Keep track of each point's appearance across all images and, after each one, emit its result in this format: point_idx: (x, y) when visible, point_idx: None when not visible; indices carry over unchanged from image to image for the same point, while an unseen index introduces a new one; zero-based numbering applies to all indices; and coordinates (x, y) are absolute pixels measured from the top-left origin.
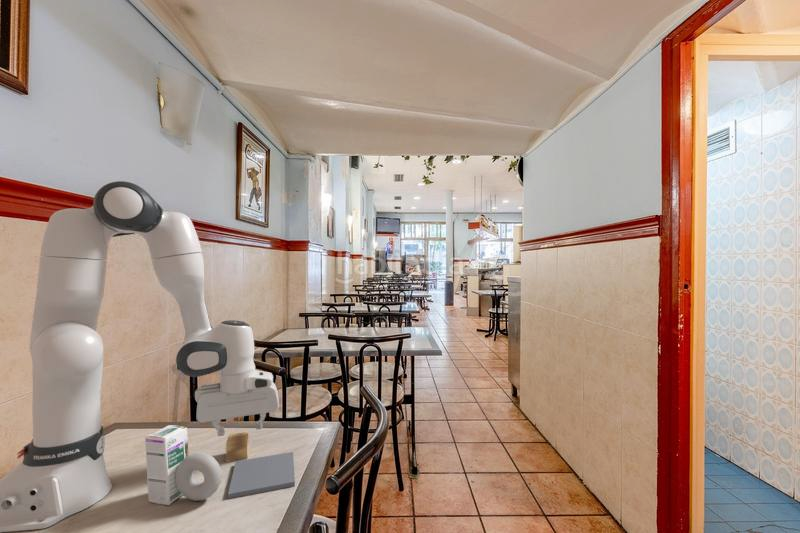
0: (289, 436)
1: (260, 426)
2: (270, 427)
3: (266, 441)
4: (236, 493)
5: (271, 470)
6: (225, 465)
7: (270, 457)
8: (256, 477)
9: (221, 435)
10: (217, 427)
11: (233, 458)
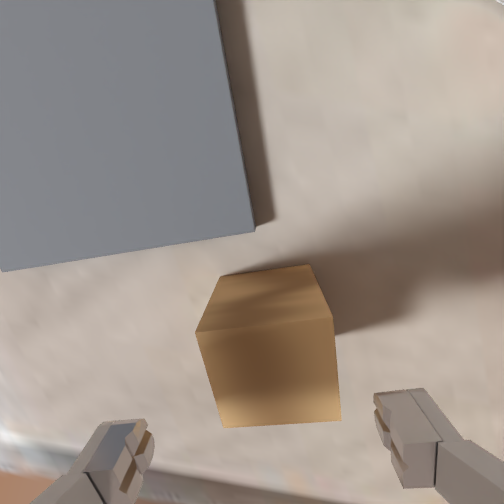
0: (105, 410)
1: (95, 440)
2: (205, 478)
3: (184, 392)
4: None
5: (21, 97)
6: (306, 234)
7: (89, 239)
8: (72, 22)
9: (392, 392)
10: (489, 474)
11: (279, 272)
